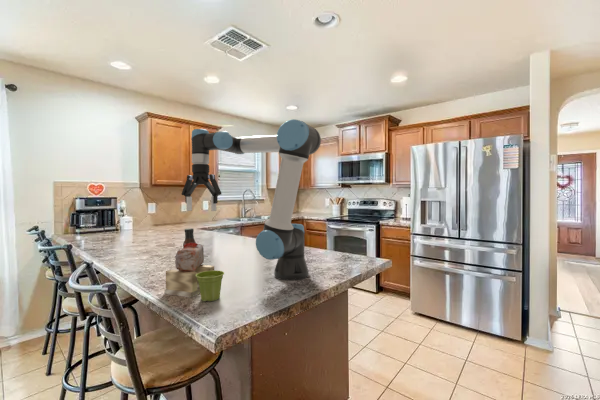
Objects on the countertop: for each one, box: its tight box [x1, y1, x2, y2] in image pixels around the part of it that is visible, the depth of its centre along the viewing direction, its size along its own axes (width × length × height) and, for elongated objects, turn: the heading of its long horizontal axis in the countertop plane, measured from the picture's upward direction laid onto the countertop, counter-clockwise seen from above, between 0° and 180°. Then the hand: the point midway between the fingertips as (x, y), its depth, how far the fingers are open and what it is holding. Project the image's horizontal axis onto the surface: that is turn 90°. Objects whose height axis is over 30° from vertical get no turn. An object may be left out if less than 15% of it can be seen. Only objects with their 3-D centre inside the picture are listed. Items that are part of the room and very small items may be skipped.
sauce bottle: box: [182, 227, 197, 249], centre depth 140 cm, size 7×6×20 cm
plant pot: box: [196, 269, 225, 302], centre depth 100 cm, size 9×9×9 cm
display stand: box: [163, 264, 215, 298], centre depth 110 cm, size 12×14×8 cm
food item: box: [174, 242, 205, 272], centre depth 111 cm, size 14×8×10 cm, turn 5°
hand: (201, 210), depth 133 cm, fingers open, 13 cm apart
